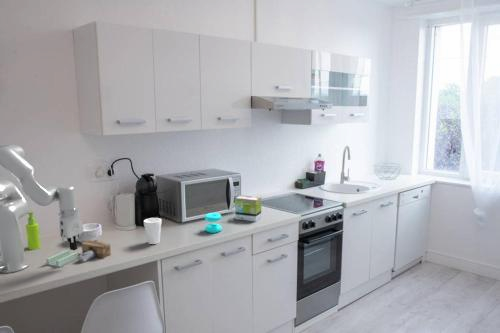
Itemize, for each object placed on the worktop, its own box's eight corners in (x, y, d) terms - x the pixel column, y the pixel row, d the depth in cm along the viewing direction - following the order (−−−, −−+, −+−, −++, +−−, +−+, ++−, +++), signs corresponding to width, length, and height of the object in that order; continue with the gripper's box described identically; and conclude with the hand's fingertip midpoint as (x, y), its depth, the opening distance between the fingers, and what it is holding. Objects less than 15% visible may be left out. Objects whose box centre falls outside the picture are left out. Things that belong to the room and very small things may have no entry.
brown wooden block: (103, 258, 198) (102, 246, 197) (82, 254, 204) (81, 243, 203) (110, 254, 203) (110, 243, 202) (90, 251, 208) (89, 240, 207)
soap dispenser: (26, 247, 216) (22, 211, 213) (41, 245, 219) (37, 210, 215) (25, 250, 211) (21, 214, 207) (40, 248, 213) (36, 212, 210)
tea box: (235, 219, 260) (234, 197, 258) (241, 215, 270) (240, 194, 267) (256, 222, 255) (255, 199, 252) (261, 217, 264) (261, 196, 261)
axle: (84, 263, 194) (84, 255, 193) (78, 261, 195) (78, 253, 194) (105, 253, 206) (105, 246, 206) (99, 251, 208) (99, 244, 207)
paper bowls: (74, 238, 230) (73, 224, 228) (102, 234, 235) (101, 221, 234) (73, 246, 216) (71, 232, 214) (102, 242, 221) (101, 229, 220)
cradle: (59, 267, 188) (59, 261, 187) (46, 264, 192) (45, 258, 191) (79, 258, 199) (79, 252, 198) (66, 255, 202) (65, 250, 202)
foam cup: (146, 246, 213) (144, 223, 211) (144, 241, 222) (142, 219, 220) (163, 244, 217) (162, 221, 215) (161, 239, 225) (160, 217, 223)
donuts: (211, 211, 244) (224, 213, 239) (211, 227, 245) (225, 229, 240) (201, 215, 235) (214, 218, 230) (201, 231, 237) (215, 234, 232)
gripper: (61, 217, 177) (66, 256, 180) (87, 208, 191) (91, 244, 194) (49, 216, 180) (55, 254, 183) (75, 207, 194) (80, 243, 197)
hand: (73, 249), depth 189 cm, fingers closed
